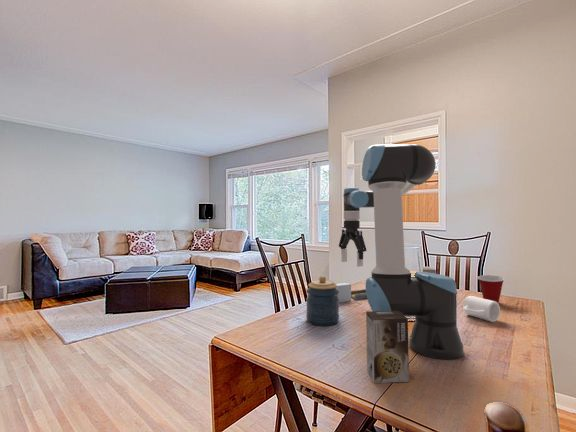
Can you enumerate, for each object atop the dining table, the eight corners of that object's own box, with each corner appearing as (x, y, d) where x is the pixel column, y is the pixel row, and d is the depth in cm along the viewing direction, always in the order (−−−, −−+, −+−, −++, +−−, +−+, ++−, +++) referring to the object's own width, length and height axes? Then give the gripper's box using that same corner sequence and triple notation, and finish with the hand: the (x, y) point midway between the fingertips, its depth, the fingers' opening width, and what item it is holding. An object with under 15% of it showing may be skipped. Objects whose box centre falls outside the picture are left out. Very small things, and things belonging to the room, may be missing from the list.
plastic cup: (471, 300, 147) (471, 275, 147) (488, 298, 150) (488, 274, 150) (493, 306, 137) (492, 280, 137) (510, 304, 140) (510, 278, 140)
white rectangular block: (335, 302, 145) (335, 286, 145) (331, 300, 148) (331, 284, 148) (351, 300, 148) (351, 284, 148) (347, 298, 151) (346, 282, 151)
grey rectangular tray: (355, 300, 149) (355, 294, 149) (346, 296, 156) (346, 291, 156) (382, 296, 155) (382, 291, 155) (372, 292, 163) (372, 288, 163)
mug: (475, 313, 128) (475, 294, 128) (500, 320, 119) (500, 300, 119) (456, 317, 123) (456, 298, 123) (481, 325, 114) (481, 304, 114)
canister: (324, 313, 129) (324, 272, 129) (346, 322, 118) (346, 277, 118) (299, 319, 122) (299, 275, 122) (320, 329, 111) (319, 281, 111)
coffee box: (399, 369, 82) (399, 310, 82) (409, 382, 76) (409, 318, 75) (365, 370, 82) (365, 310, 82) (373, 383, 75) (373, 318, 75)
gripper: (374, 220, 136) (374, 267, 136) (344, 219, 159) (344, 259, 160) (360, 220, 133) (360, 269, 134) (331, 219, 157) (332, 260, 157)
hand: (351, 264), depth 147 cm, fingers open, 13 cm apart
